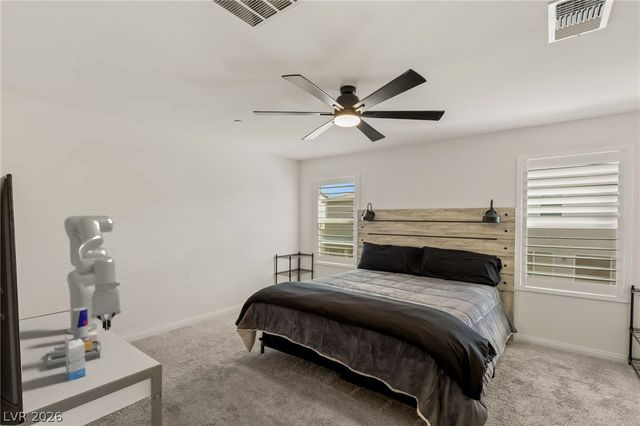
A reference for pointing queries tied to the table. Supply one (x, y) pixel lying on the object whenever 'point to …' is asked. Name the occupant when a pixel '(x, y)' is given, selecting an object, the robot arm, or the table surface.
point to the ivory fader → (93, 336)
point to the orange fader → (88, 345)
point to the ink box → (75, 358)
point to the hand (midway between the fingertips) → (106, 329)
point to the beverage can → (80, 323)
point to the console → (59, 355)
